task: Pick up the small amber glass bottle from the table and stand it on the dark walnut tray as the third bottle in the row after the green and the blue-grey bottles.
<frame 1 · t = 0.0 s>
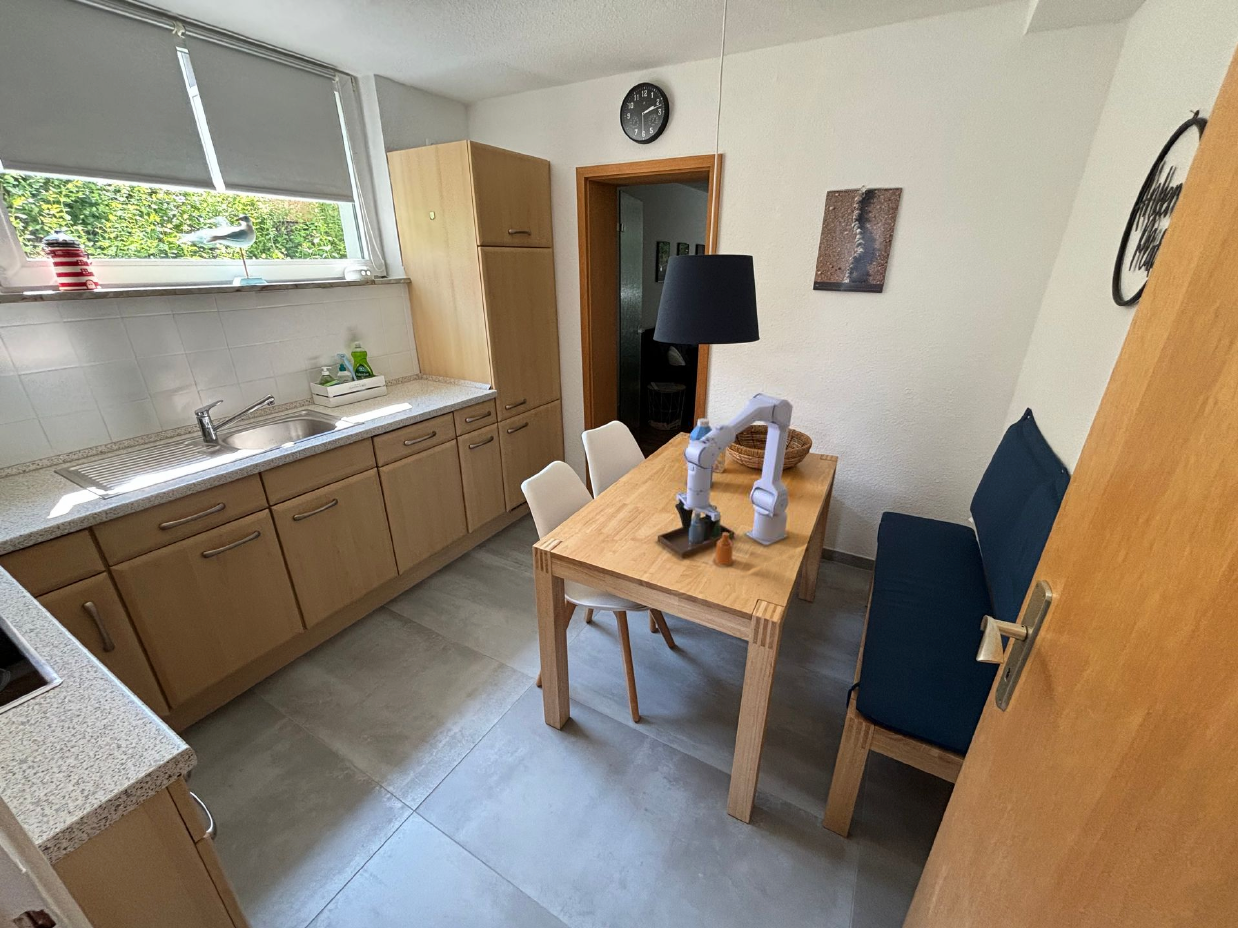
hand: (695, 533, 132), 10 cm above the table, tool pointing down, fingers open, 7 cm apart
blue-grey bottle: (696, 539, 148), resting on tray
green bottle: (712, 532, 151), resting on tray
tray: (695, 540, 148), on the table
water bottle: (699, 484, 186), on the table
amber bottle: (723, 562, 137), on the table
candy box: (712, 469, 199), on the table
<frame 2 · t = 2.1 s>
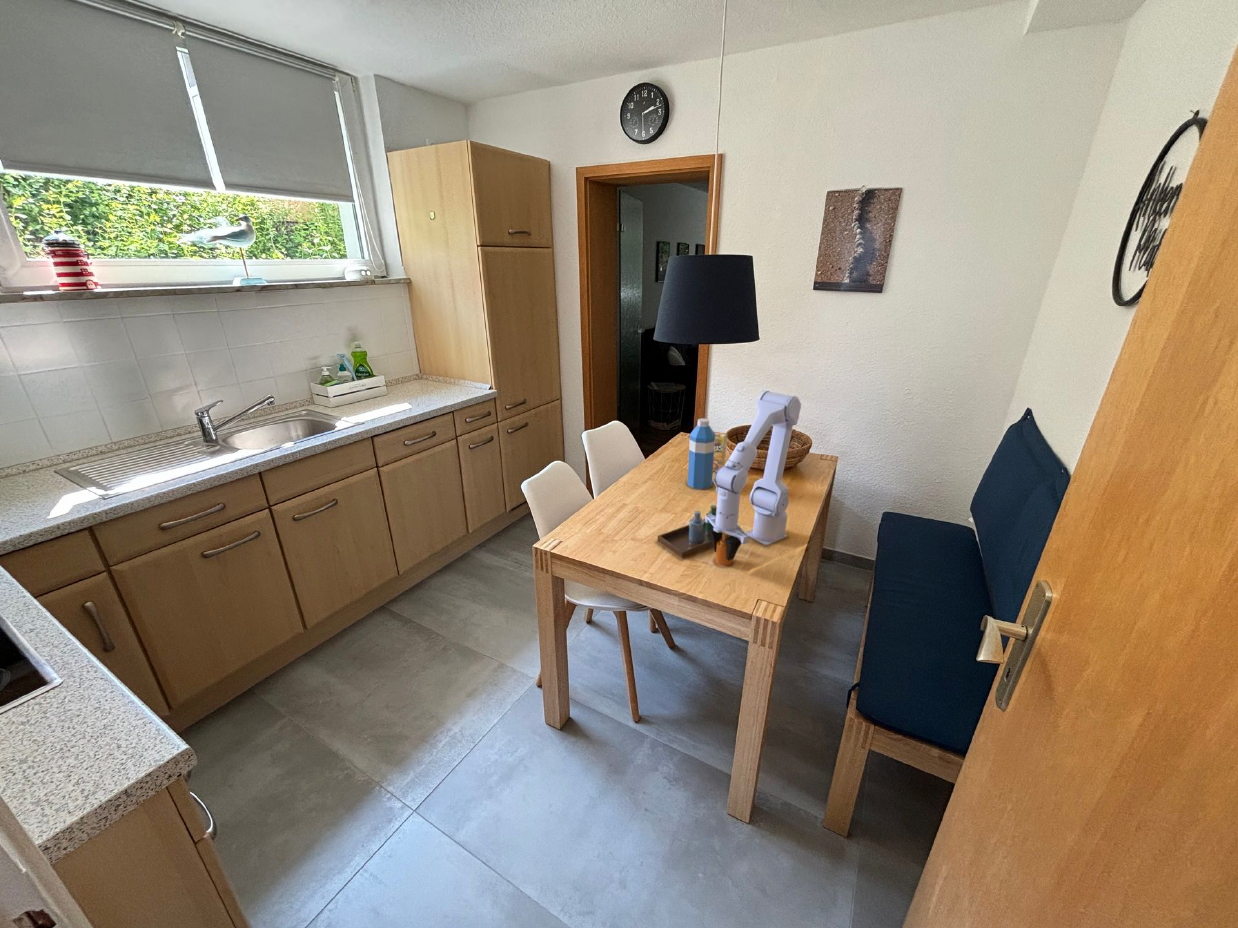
hand: (724, 554, 136), 2 cm above the table, tool pointing down, fingers closed on amber bottle, 4 cm apart
amber bottle: (723, 562, 137), on the table, touching gripper
everything else where it was.
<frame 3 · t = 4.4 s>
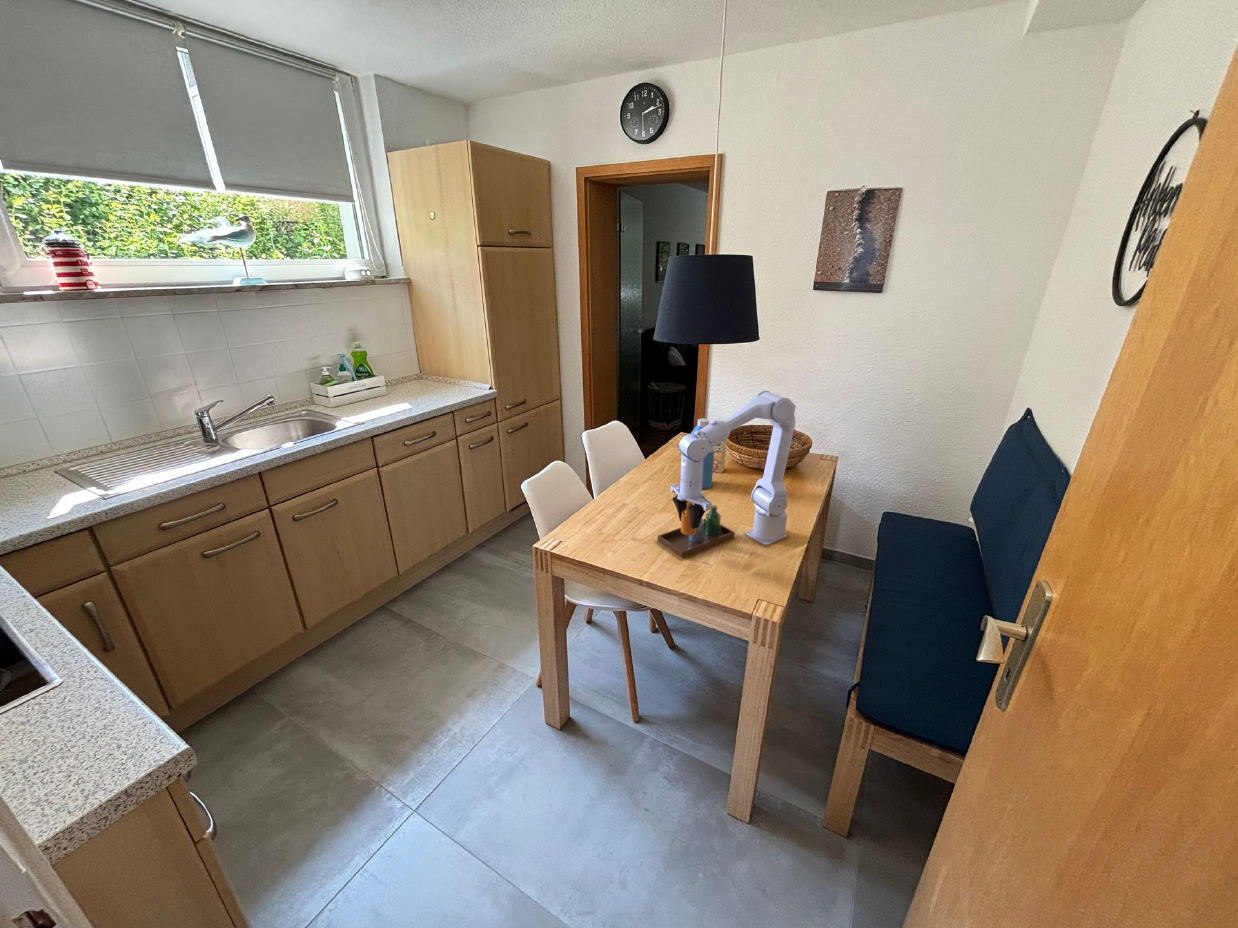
hand: (689, 523, 138), 9 cm above the table, tool pointing down, fingers closed on amber bottle, 4 cm apart
amber bottle: (688, 531, 139), point 7 cm above the table, touching gripper
everything else where it was.
when the fingers open (3 cm above the table, at t = 6.8 s): amber bottle stays where it is, resting on tray.
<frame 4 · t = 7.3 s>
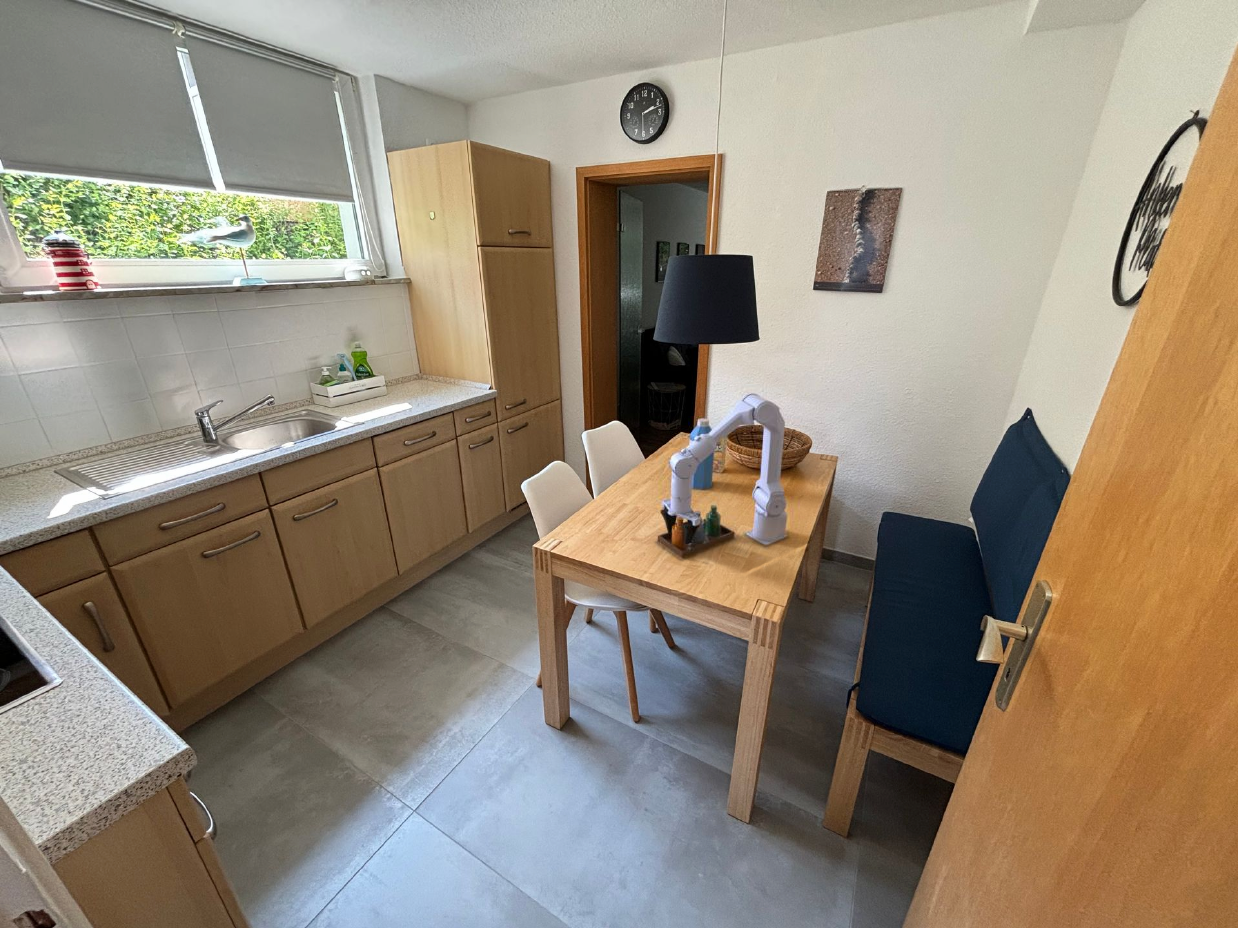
hand: (679, 537, 143), 3 cm above the table, tool pointing down, fingers open, 7 cm apart
amber bottle: (679, 545, 144), resting on tray
everything else where it was.
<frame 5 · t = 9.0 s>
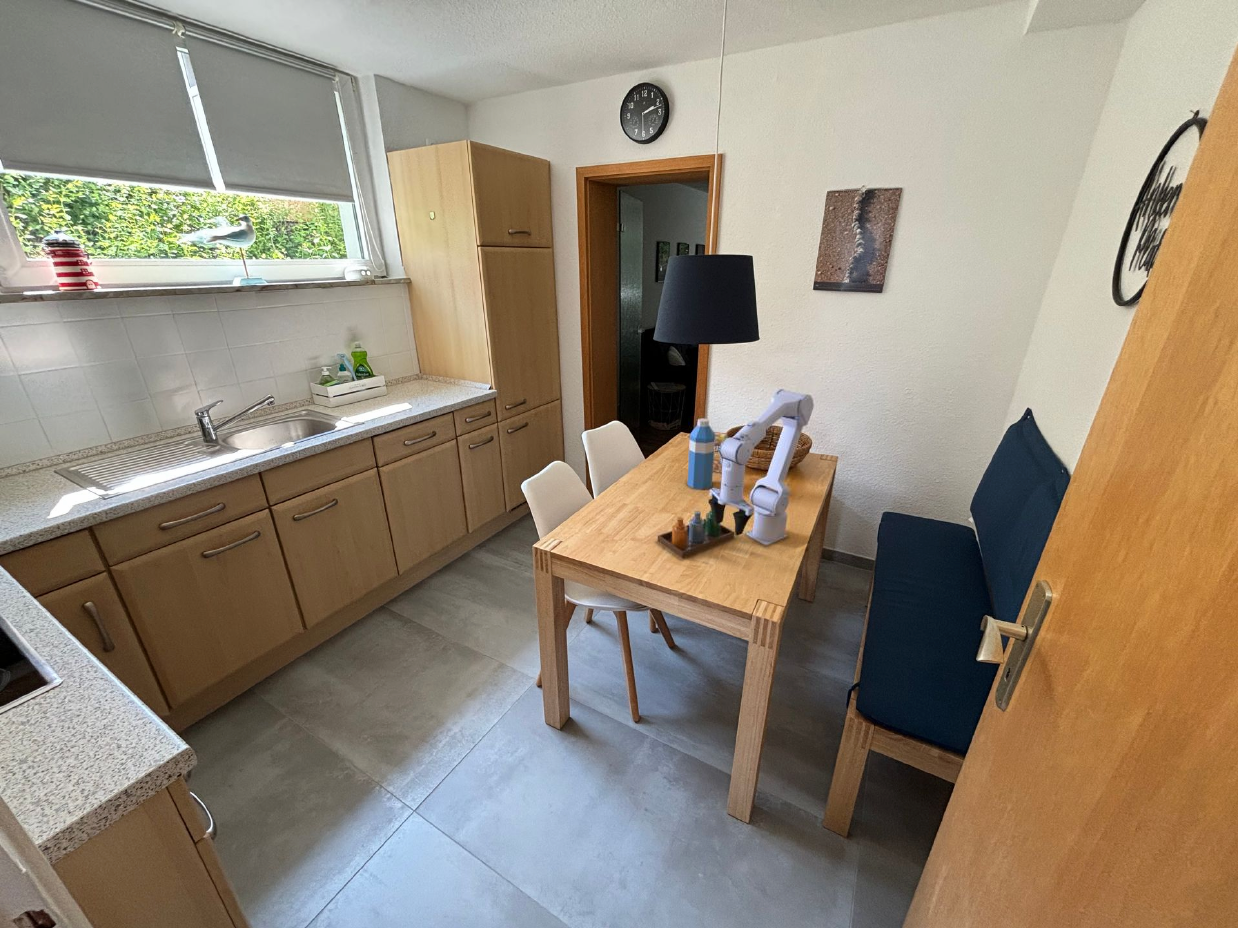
hand: (728, 528, 136), 9 cm above the table, tool pointing down, fingers open, 7 cm apart
nothing on the table moved.
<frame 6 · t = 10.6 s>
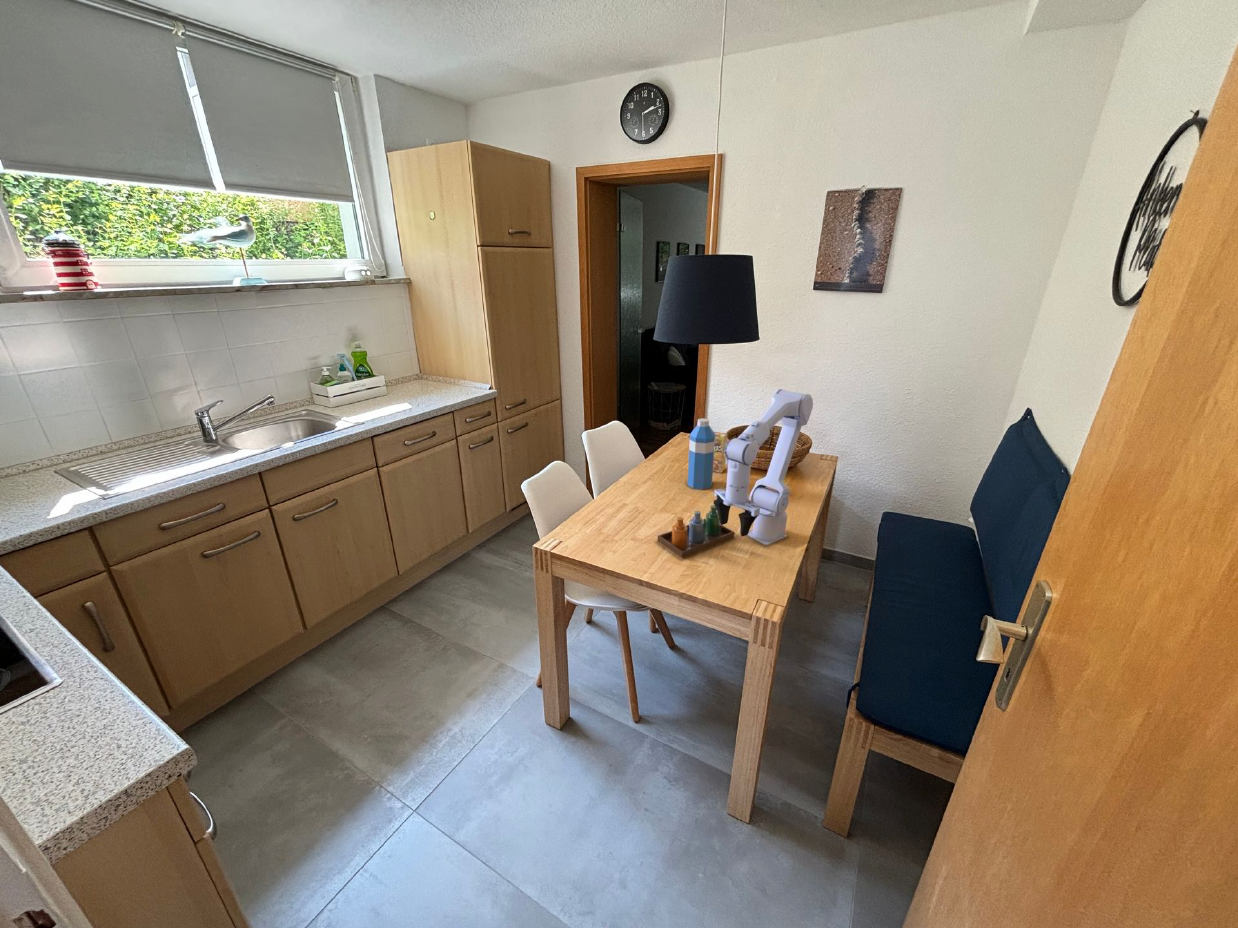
hand: (733, 529, 135), 9 cm above the table, tool pointing down, fingers open, 7 cm apart
nothing on the table moved.
at the end: amber bottle 0.2 cm from the target spot in the tray, point 0.5 cm above the tray's base; amber bottle tilted 0°; blue-grey bottle moved 0.0 cm from its start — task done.
